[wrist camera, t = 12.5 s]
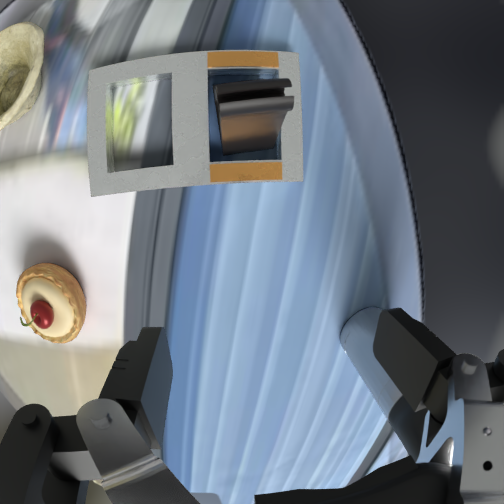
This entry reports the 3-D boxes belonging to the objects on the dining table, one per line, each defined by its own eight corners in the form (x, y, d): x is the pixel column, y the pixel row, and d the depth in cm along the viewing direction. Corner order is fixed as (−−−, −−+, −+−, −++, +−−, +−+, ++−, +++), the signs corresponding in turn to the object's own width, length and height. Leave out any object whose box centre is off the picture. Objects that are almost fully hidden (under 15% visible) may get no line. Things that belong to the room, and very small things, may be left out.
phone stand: (212, 85, 29) (211, 49, 18) (261, 79, 29) (284, 43, 18) (222, 155, 32) (226, 153, 21) (272, 148, 32) (301, 143, 21)
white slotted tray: (293, 59, 29) (298, 52, 26) (297, 179, 34) (303, 181, 31) (96, 75, 26) (88, 69, 24) (99, 194, 31) (90, 197, 29)
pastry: (104, 320, 37) (86, 357, 29) (50, 330, 37) (29, 363, 28) (72, 247, 33) (42, 273, 25) (19, 266, 32) (-12, 292, 24)
